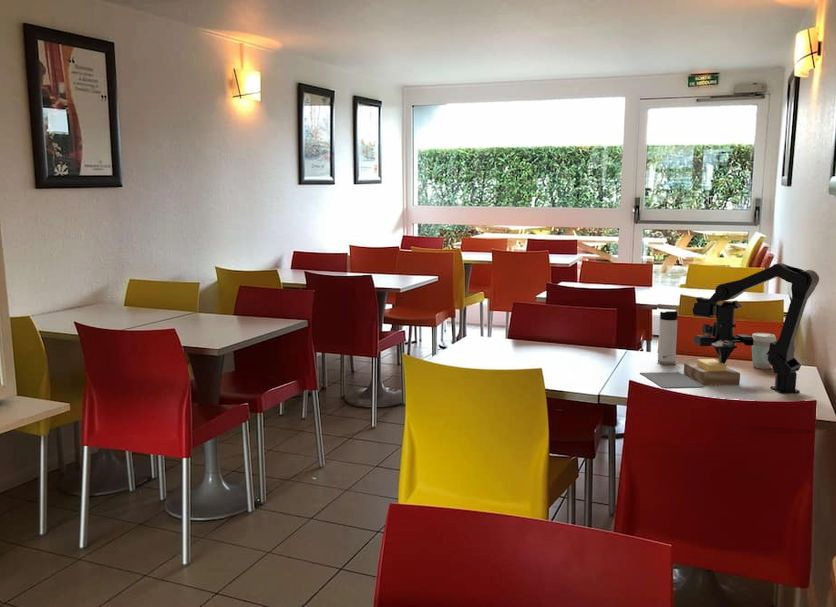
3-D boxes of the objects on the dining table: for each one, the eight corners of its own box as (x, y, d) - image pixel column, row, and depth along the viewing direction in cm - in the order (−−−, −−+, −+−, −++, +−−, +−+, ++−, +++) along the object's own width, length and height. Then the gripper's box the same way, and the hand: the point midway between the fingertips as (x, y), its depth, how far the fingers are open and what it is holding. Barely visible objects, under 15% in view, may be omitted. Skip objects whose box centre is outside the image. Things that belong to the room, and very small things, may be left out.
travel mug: (665, 365, 274) (668, 312, 271) (654, 361, 280) (656, 309, 277) (679, 364, 276) (682, 311, 273) (667, 360, 282) (669, 308, 279)
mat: (704, 387, 244) (704, 386, 244) (662, 388, 243) (663, 387, 242) (678, 372, 263) (678, 371, 263) (640, 373, 262) (640, 372, 262)
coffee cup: (758, 370, 267) (760, 337, 265) (743, 364, 275) (745, 333, 273) (779, 369, 269) (782, 336, 267) (764, 363, 277) (766, 332, 275)
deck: (739, 384, 247) (740, 373, 246) (704, 385, 246) (705, 373, 245) (716, 373, 262) (717, 362, 262) (683, 374, 261) (684, 362, 261)
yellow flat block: (726, 370, 249) (726, 365, 249) (708, 371, 249) (709, 365, 248) (713, 364, 258) (713, 359, 258) (696, 365, 258) (697, 359, 257)
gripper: (739, 315, 260) (736, 359, 262) (687, 316, 259) (685, 360, 261) (756, 321, 249) (753, 366, 251) (702, 321, 248) (699, 367, 250)
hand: (722, 365), depth 254 cm, fingers closed
